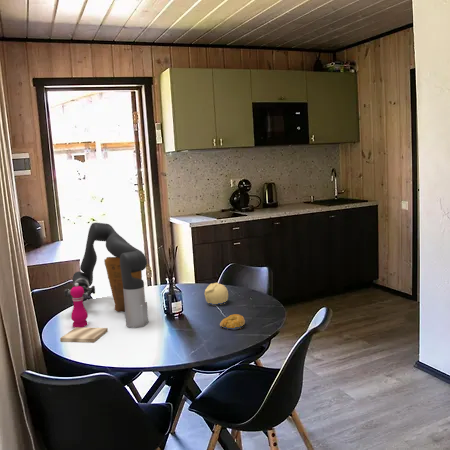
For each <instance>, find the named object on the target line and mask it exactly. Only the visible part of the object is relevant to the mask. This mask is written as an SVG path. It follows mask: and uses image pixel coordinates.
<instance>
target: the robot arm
mask: <svg viewBox="0 0 450 450" xmlns="http://www.w3.org/2000/svg"><path fill="white" fill-rule="evenodd" d="M95 242H105V248H106V250H107V251H108V252H109V253H110V254H111V255H112V257H118V258H120V268H121V275H122V283H123V291H124V305H125V312H124V317H125V327H128V328H132V329H133V328H140V327H141V328H142V327H145V326H146V325H147V324H148V323H149V314H148V310H149V309H148V302H147V301H146V294H145V282H144V279H143V278H142V279H138V278H133V277H132V275H131V273H133V272H138V271H144V270H145V269H146V268H147V266H148V262H147V261H148V260H147V258H146V255H145V253H143V252H142V251H141V250H139V249H138V248H137V247H135V246H133V245H131V244H130V243H129V241H127V240H126V239H125V238H124V237H123V236H121V235H119V233H118V232H117V231H116V230H115V228H114V227H113V226H112V225H111V224H109V223H104V222H103V223H102V222H92V223H91V224H90V227H89V229H88V235H87V239H86V245H85V250H84V255H83V257H82V260H81V263H80V266H79V269H80V271H76V272H75V273H73V275H72V283H73V286H72V288H73V287H75V283H78V284H79V286H81V287H83V289H84V294H83V296H85V295H86V296H88V297H90V296H91V295H92V294H94V295H95V294H96V288H95V285H92V284H93V282H94V281H93V280H94V269H95V266H96V264H97V260H98V256H97V252H96V250H95V245H94V243H95ZM90 286H91V287H90ZM70 291H71V289H69V288H65V289H64V290H63V292H64V293H63V294H64V297H65V298H66V297H67V298H69V299H72V296H71V294H70Z"/></svg>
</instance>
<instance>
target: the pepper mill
mask: <svg viewBox="0 0 450 450" xmlns="http://www.w3.org/2000/svg"><path fill="white" fill-rule="evenodd" d="M70 290H71V291H70V294H71V301H72V303H73V308H72V312H71V315H70V317H71V320H72V321H73V322H72V327H73V328H76V327H82V328H86V327H87V325H88V320H87V319H88V318H89V317H88V316H89V314H88V311H87V309H86V307H85V306H84V296H85V295H83V294H84V289H83V287H81V286H79V284H78V283H75V287H73V286H72V288H71V289H70Z"/></svg>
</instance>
